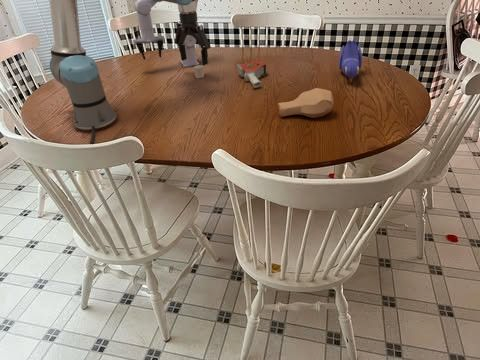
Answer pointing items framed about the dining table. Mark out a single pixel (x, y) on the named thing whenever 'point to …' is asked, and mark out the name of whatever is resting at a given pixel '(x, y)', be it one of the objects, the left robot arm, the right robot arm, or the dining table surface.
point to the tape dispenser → (252, 72)
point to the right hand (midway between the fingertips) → (152, 58)
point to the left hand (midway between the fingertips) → (194, 62)
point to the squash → (309, 104)
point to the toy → (350, 59)
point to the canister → (199, 71)
